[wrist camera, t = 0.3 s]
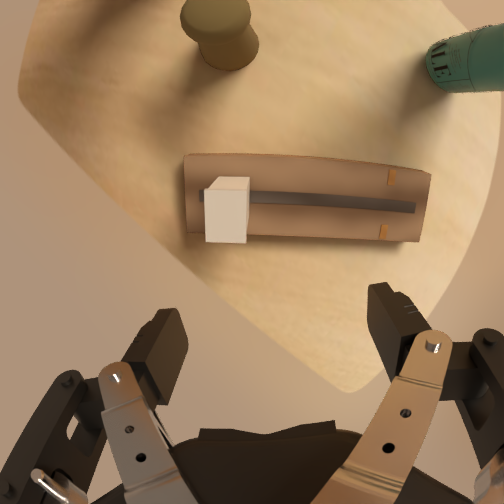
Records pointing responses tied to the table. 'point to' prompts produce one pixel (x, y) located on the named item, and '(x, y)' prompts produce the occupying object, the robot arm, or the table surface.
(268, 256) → the table surface
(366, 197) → the console track
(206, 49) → the cork
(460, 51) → the beverage bottle
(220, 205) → the fader tab
